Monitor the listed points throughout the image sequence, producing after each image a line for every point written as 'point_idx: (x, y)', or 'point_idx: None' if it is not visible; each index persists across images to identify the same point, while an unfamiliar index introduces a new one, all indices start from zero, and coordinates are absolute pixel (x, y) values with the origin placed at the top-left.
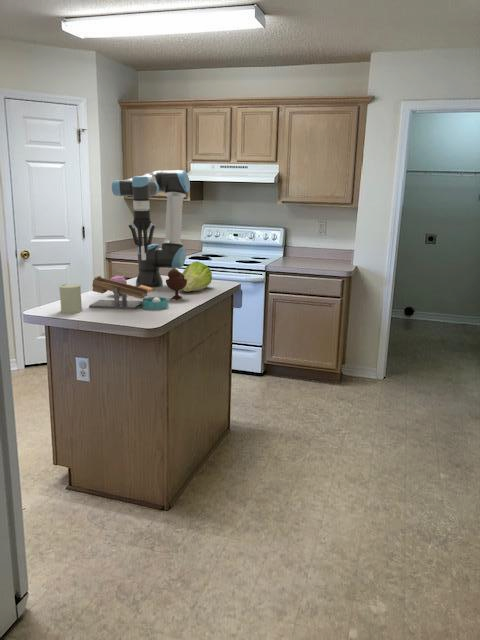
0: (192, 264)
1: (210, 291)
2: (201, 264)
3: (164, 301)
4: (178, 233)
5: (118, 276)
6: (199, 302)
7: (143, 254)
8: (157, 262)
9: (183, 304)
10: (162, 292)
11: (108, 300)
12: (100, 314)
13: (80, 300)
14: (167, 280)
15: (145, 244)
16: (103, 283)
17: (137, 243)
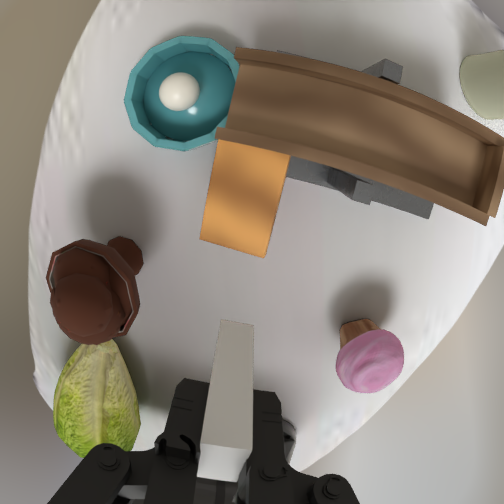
0: (90, 447)
1: (60, 348)
2: (66, 439)
3: (139, 61)
4: None
5: (376, 376)
6: (45, 189)
7: (224, 362)
8: (216, 483)
9: (86, 150)
10: (197, 359)
11: (400, 198)
12: (392, 7)
13: (483, 68)
14: (132, 311)
15: (167, 468)
16: (462, 114)
17: (310, 496)
